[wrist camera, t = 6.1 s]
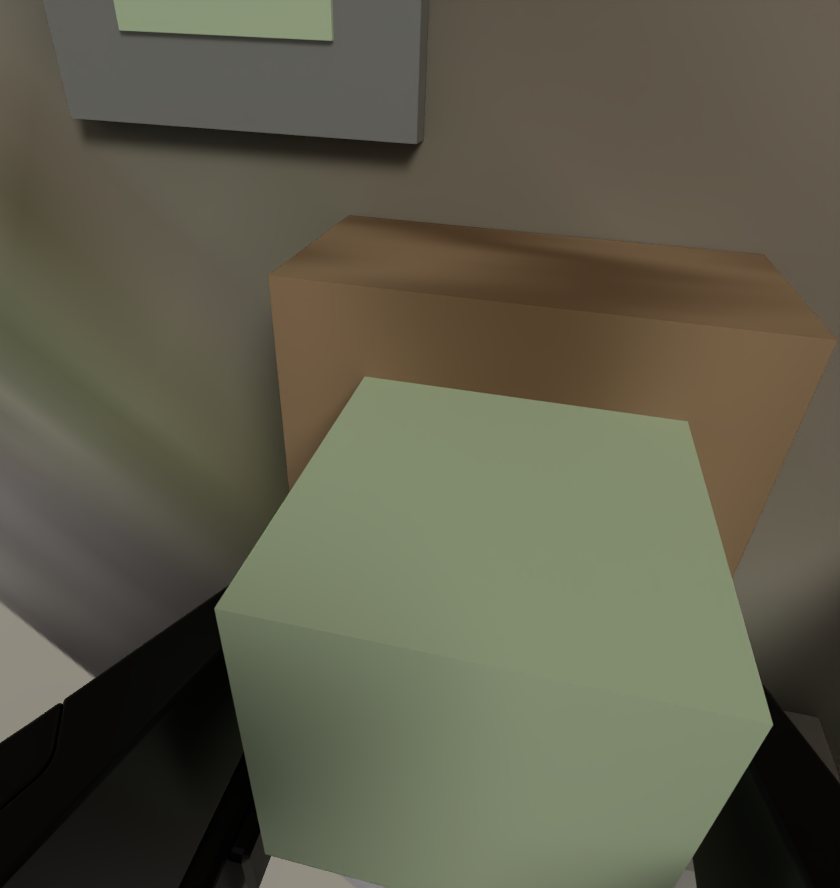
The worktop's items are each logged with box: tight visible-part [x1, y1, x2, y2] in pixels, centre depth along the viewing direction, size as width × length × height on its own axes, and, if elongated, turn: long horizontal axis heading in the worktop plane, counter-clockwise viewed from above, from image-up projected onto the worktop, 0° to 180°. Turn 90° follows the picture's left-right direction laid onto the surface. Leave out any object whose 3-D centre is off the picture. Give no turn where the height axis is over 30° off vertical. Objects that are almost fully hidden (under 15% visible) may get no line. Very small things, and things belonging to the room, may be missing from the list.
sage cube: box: [214, 377, 773, 888], centre depth 9 cm, size 5×5×5 cm
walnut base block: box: [268, 215, 838, 578], centre depth 13 cm, size 8×8×4 cm
